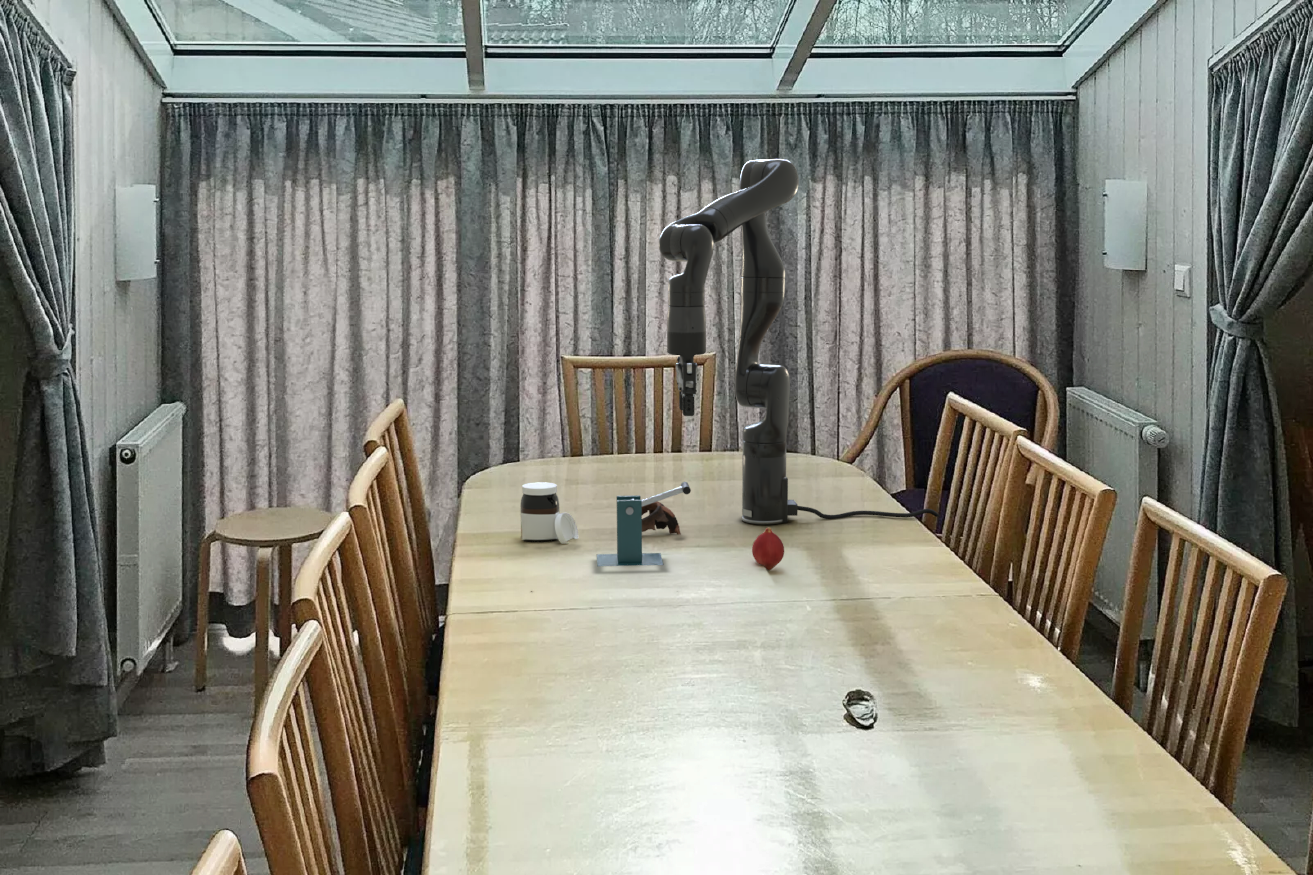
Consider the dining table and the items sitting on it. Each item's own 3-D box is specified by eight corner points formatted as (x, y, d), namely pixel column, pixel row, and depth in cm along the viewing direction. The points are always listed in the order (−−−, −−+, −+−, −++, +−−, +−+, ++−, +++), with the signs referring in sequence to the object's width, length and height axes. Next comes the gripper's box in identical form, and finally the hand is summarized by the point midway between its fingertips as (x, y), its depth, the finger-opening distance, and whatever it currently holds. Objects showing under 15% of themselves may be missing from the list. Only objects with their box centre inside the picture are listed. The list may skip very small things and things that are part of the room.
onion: (749, 566, 254) (750, 524, 253) (780, 565, 255) (781, 523, 253) (754, 574, 248) (755, 531, 247) (786, 573, 249) (786, 530, 248)
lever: (690, 490, 256) (686, 478, 256) (692, 495, 251) (688, 483, 251) (623, 513, 256) (619, 501, 256) (624, 519, 251) (620, 506, 251)
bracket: (660, 559, 260) (660, 492, 258) (663, 571, 251) (663, 502, 249) (596, 561, 259) (595, 493, 257) (597, 572, 250) (596, 503, 248)
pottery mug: (683, 545, 273) (664, 511, 271) (642, 563, 276) (621, 530, 273) (686, 517, 284) (667, 485, 282) (646, 535, 287) (627, 503, 284)
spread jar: (521, 538, 278) (520, 481, 277) (577, 536, 279) (577, 480, 277) (520, 551, 267) (519, 492, 265) (579, 550, 267) (578, 491, 266)
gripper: (709, 332, 259) (709, 417, 262) (702, 326, 273) (702, 407, 276) (669, 332, 259) (669, 418, 261) (664, 326, 273) (665, 408, 275)
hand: (686, 412), depth 268 cm, fingers open, 8 cm apart
